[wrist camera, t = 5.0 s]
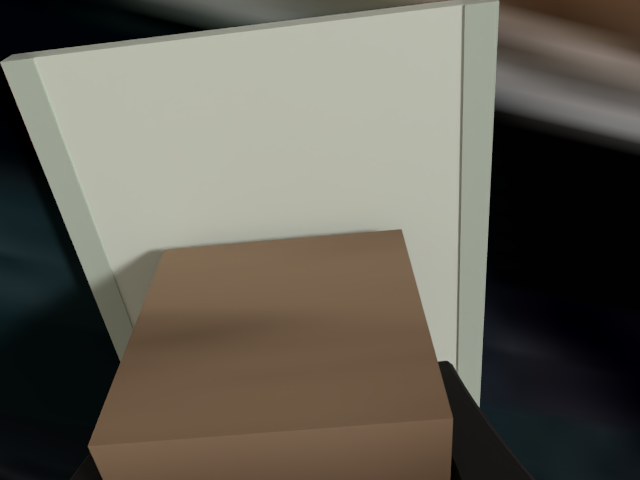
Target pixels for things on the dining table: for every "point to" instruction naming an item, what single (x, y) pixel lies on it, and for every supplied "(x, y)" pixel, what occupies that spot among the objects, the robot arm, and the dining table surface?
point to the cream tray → (278, 149)
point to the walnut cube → (279, 368)
